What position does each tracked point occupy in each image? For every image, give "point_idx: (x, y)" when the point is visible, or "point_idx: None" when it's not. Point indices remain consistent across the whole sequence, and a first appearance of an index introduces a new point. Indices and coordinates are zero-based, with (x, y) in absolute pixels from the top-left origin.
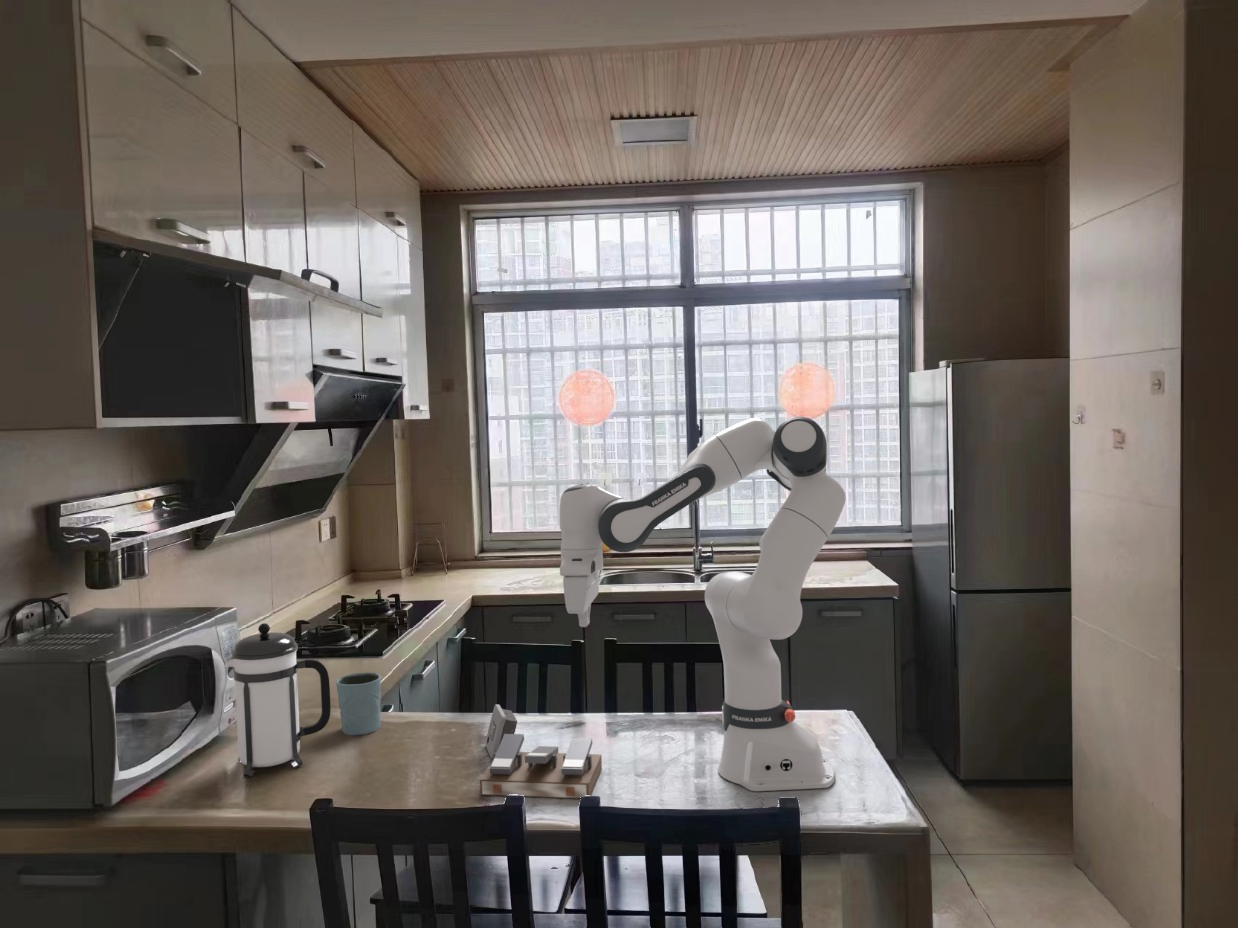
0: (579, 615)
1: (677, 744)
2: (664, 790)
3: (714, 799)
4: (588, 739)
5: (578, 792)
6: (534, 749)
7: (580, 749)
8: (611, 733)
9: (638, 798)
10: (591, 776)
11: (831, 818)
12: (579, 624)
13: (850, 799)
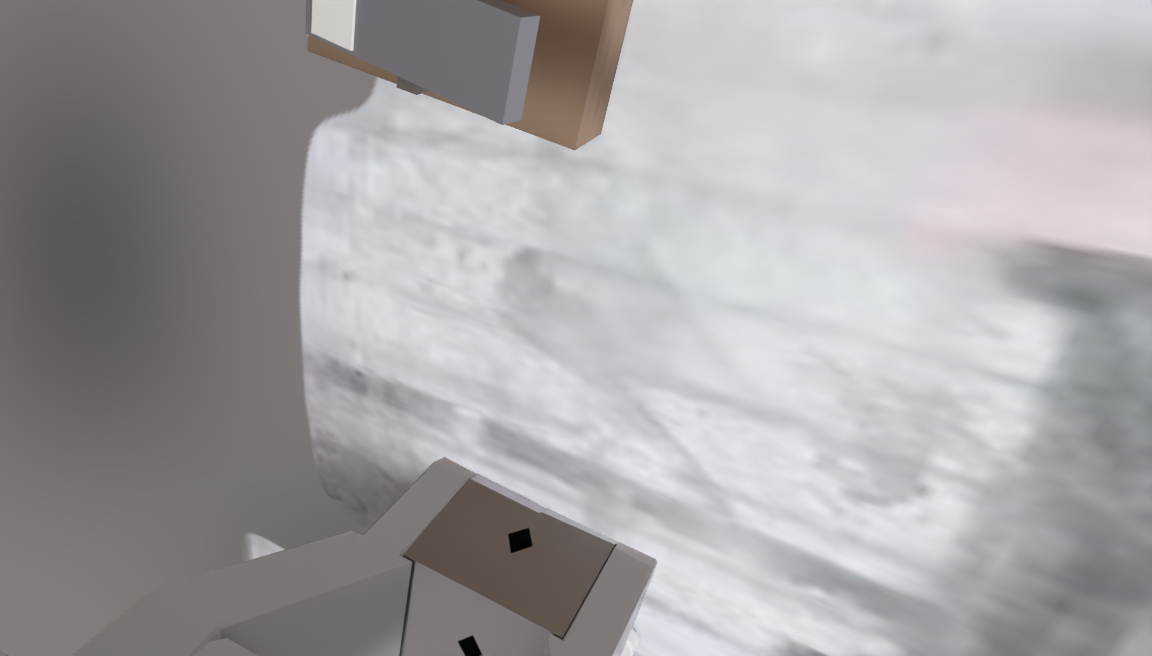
0: (266, 577)
1: (792, 487)
2: (406, 304)
3: (351, 408)
4: (492, 103)
5: None
6: None
7: (424, 47)
8: (1066, 272)
9: (355, 211)
10: (363, 69)
11: None
12: (427, 472)
13: None
